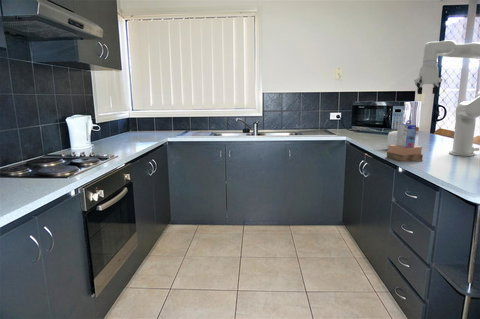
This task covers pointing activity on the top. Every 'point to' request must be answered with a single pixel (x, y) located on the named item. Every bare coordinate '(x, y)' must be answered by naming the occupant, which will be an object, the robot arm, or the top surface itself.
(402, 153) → the tower top
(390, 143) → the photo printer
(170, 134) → the top surface
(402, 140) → the ink cartridge box
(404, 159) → the tower base
